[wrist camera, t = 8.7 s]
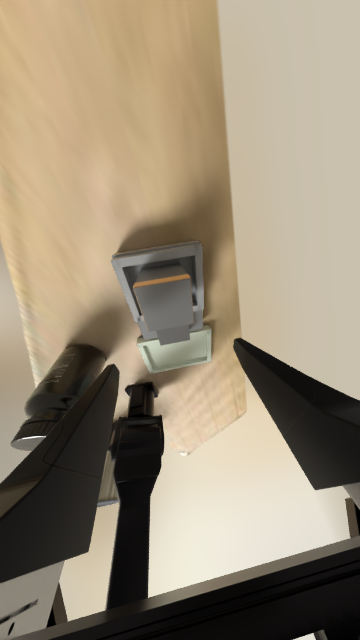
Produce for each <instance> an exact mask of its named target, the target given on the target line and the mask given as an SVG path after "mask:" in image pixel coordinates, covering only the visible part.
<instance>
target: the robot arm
mask: <svg viewBox="0 0 360 640" xmlns="http://www.w3.org/2000/svg"><path fill="white" fill-rule="evenodd" d="M233 348H234V351H235V353H236V355H237V357H238V359H239V362H240V364H241V366H242V368H243V370H244V371H245V373H246V375H247V377H248V378H249V380H250V382H251V383H252V385H253V387H254V388H255V390H256V392H257V393H258V395H259V397H260V398H261V400H262V402H263V403H264V405H265V407H266V409H267V410H268V412H269V414H270V415H271V417H272V419H273V420H274V422H275V424H276V425H277V427H278V429H279V430H280V432H281V434H282V436H283V438H284V439H285V441H286V443H287V444H288V446H289V448H290V449H291V451H292V453H293V454H294V456H295V458H296V459H297V461H298V463H299V465H300V466H301V468H302V470H303V471H304V473H305V475H306V476H307V478H308V480H309V481H310V483H311V485H312V486H313V488H314V489H315V490H319V489H325V488H331V487H337V486H343V487H344V489H345V490H346V491H347V492H348V494H349V495H350V498H346V499H345V501H346V509H347V516H348V524H349V532H350V537H351V538H350V539H347V540H343V541H340V542H336V543H333V544H330V545H326V546H323V547H320V548H316V549H313V550H309V551H306V552H302V553H299V554H296V555H293V556H289V557H285V558H282V559H279V560H275V561H272V562H269V563H265V564H262V565H258V566H255V567H252V568H248V569H245V570H241V571H238V572H235V573H231V574H228V575H224V576H221V577H218V578H214V579H211V580H207V581H204V582H201V583H197V584H194V585H191V586H187V587H184V588H180V589H177V590H174V591H170V592H167V593H163V594H160V595H157V596H153V597H150V598H148V569H149V526H150V496H151V493H152V490H153V488H154V485H155V482H156V479H157V477H158V475H159V472H160V469H161V456H162V455H163V452H164V431H163V422H162V415H159V416H154V398H156V397H158V394H157V391H156V389H155V387H154V385H153V383H146V384H141V385H136V386H132V387H127V388H125V391H126V393H127V394H128V395H129V397H130V398H129V404H128V410H127V417H124V418H122V417H119V420H117V421H115V425H114V430H113V434H112V438H111V442H110V445H109V439H110V434H111V429H112V423H113V418H114V412H115V407H116V402H117V396H118V386H119V370H118V368H117V367H116V365H115V364H111V365H108V366H107V367H106V368H105V369H104V370H103V372H102V373H101V374H100V375H99V376H98V377H97V378H96V380H95V381H94V382H93V383H92V384H91V385H90V387H89V388H88V389H87V390H86V391H85V392H84V393H83V395H82V396H81V397H80V398H79V399H78V400H77V402H76V403H75V404H74V405H73V406H72V407H71V408H70V410H69V411H68V412H67V413H66V414H65V415H64V417H63V418H62V419H61V420H60V421H59V422H58V423H57V425H56V426H55V427H54V428H53V429H52V430H51V431H50V432H49V434H48V435H47V436H46V437H45V438H44V439H43V440H42V441H41V442H40V443H39V444H38V445H37V446H36V447H35V449H34V450H33V451H32V452H31V453H30V454H29V455H28V456H27V457H26V458H25V459H24V460H23V461H22V462H21V463H20V464H19V465H18V466H17V467H16V468H15V469H14V470H13V472H11V474H10V475H9V476H8V477H7V478H6V479H5V480H4V481H3V482H1V483H0V640H293V639H296V638H299V637H302V636H305V635H308V634H311V633H314V636H315V639H316V640H360V400H357V399H355V398H352V397H350V396H348V395H346V394H344V393H342V392H340V391H338V390H335V389H334V388H331V387H329V386H327V385H325V384H323V383H321V382H319V381H317V380H315V379H313V378H311V377H309V376H307V375H305V374H304V373H302V372H300V371H298V370H296V369H295V368H293V367H290V366H289V365H287V364H286V363H284V362H282V361H280V360H279V359H277V358H275V357H273V356H272V355H270V354H268V353H266V352H264V351H263V350H261V349H259V348H257V347H256V346H254V345H252V344H250V343H248V342H247V341H245V340H243V339H242V338H236V339H234V345H233ZM120 430H122V431H120ZM108 445H109V452H110V453H111V456H110V457H111V462H115V466H114V472H113V482H114V486H115V490H116V494H117V498H118V502H119V511H118V519H117V526H116V534H115V541H114V548H113V556H112V563H111V572H110V579H109V586H108V593H107V602H106V609H105V611H102V612H99V613H95V614H92V615H89V616H86V617H82V618H79V619H75V620H72V621H69V622H67V615H66V610H65V606H64V602H63V597H62V593H61V589H60V584H59V579H60V575H61V571H62V568H63V564H64V561H65V560H67V559H70V558H73V557H76V556H78V555H81V554H84V553H87V552H88V551H89V546H90V542H91V536H92V531H93V526H94V520H95V515H96V510H97V504H98V499H99V493H100V488H101V483H102V477H103V471H104V466H105V461H106V455H107V450H108Z"/></svg>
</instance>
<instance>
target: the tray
mask: <svg viewBox="0 0 360 640" xmlns="http://www.w3.org/2000/svg"><path fill="white" fill-rule="evenodd" d="M211 332H212V329H211V327H210V326H209V325H206V326H203V329H199V330H194V331H189V333H190V340H187V341H182V342H177V343H172V344H167V345H162V346H160V342H159V339H158V338H152V339H147V340H144V337H143V338H138V339H137V346H138V348H139V350H140V353H141V355H142V357H143V359H144V362H145V364H146V366H147V368H148V371H149V373H150V374H154V373H159V372H163V371H168V370H173V369H178V368H183V367H188V366H193V365H197V364H202V363H207V362H211Z"/></svg>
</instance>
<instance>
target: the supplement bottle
mask: <svg viewBox="0 0 360 640" xmlns="http://www.w3.org/2000/svg"><path fill="white" fill-rule="evenodd" d="M104 364H105V357H104V355H103V353H102V352H101V351H99V350H98V349H96V348H94V347H91V346H87V345H75V346H71V347H69V348H67V349H65V350H64V351H63V352H62V353H61V355H60V356H59V357H58V359H57V360H56V361H55V363H54V364H53V366H52V367H51V368H50V370H49V371H48V372H47V374H46V375H45V377H44V378H43V379H42V381H41V382H40V383H39V385H38V386H37V388H36V389H35V390H34V392H33V393H32V394H31V396H30V397H29V399H28V400H27V402H26V404H25V407H24V410H25V414H26V416H27V417H28V418H29V419H28V420H26V421H24V422H23V424H22V425H21V427H20V430H19V431H18V433H17V434H16V436H15V437H14V439H13V440H12V442H11V446H12V447H14V448H16V449H19V450H25V451H33V450H34V449H35V447H36V446H37V445H38V444H39V443H40V442H41V441H42V440H43V439H44V438H45V437H46V436H47V435H48V434H49V432H50V431H51V430H52V429H53V428H54V427H55V426H56V425H57V423H58V422H59V421H60V420H61V419H62V418H63V417H64V415H65V414H66V413H67V412H68V411H69V410H70V408H71V407H72V406H73V405H74V404H75V403H76V402H77V400H78V399H79V398H80V397H81V396H82V395H83V393H84V392H85V391H86V390H87V389H88V388H89V387H90V385H91V384H92V383H93V382H94V381H95V380H96V378H97V377H98V376H99V375H100V374H101V373H102V370H103V367H104Z"/></svg>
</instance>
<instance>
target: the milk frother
mask: <svg viewBox="0 0 360 640" xmlns="http://www.w3.org/2000/svg"><path fill="white" fill-rule="evenodd" d="M114 425H115V423H114V424H112V429H111V434H110V439H109V445H110V442H111V438H112V434H113V430H114ZM120 431H122V430H120ZM109 445H108V450H107V455H106V461H105V466H104V471H103V477H102V483H101V488H100V493H99V499H98V504H97V507H101V506H106V505H111V504H114V503H117V502H118V498H117V494H116V490H115V486H114V482H113V472H114V466H115V462H111V457H110V456H111V453H110V452H109Z"/></svg>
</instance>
